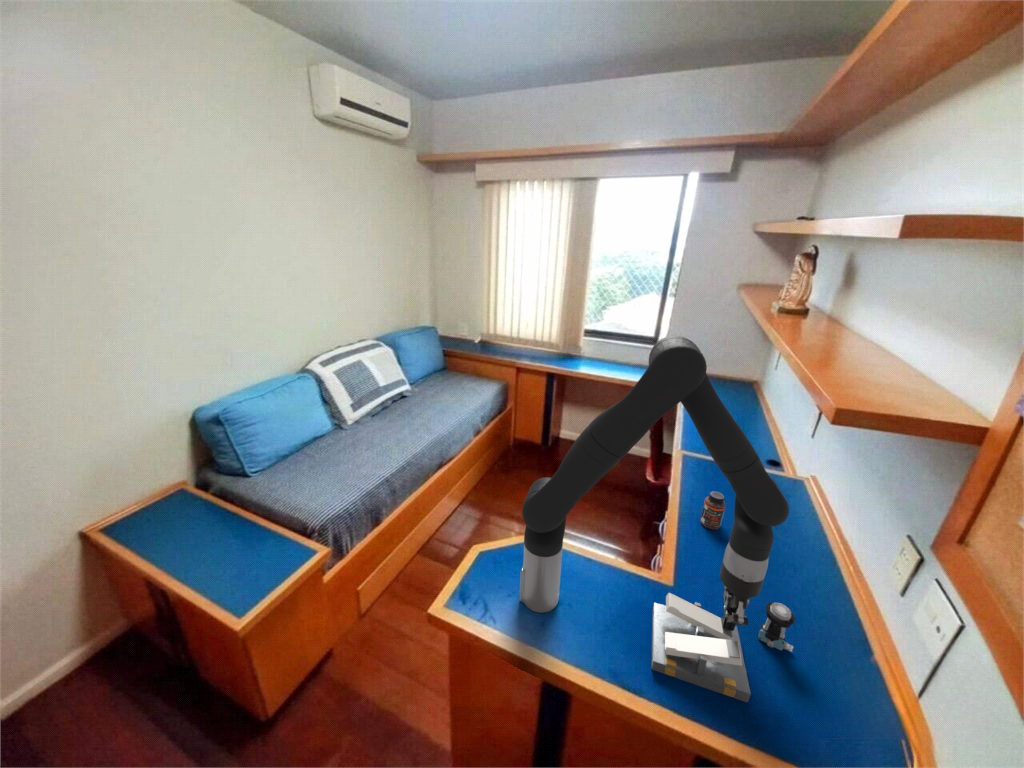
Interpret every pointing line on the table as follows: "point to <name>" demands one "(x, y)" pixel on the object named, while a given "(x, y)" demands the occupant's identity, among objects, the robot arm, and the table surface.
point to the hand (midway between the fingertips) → (727, 627)
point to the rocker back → (697, 616)
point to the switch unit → (696, 670)
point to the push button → (776, 626)
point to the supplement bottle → (713, 510)
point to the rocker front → (703, 648)
